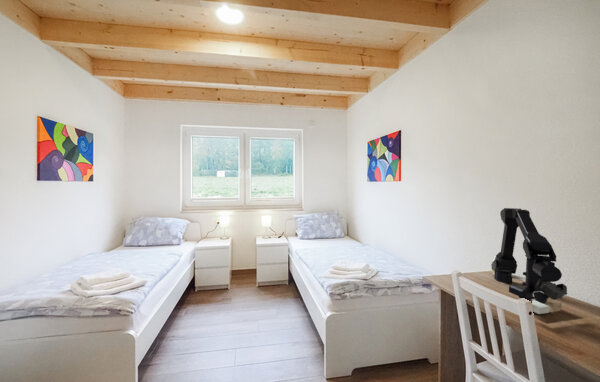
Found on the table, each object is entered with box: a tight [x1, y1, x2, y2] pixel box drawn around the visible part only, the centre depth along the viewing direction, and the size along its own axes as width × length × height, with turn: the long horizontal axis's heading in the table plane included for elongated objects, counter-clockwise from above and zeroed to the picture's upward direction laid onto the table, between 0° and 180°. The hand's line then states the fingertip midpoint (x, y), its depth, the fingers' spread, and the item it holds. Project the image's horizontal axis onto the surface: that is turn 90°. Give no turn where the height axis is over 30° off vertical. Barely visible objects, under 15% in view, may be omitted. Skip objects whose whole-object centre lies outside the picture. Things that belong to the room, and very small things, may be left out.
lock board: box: [533, 294, 562, 313], centre depth 107 cm, size 17×13×4 cm
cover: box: [532, 299, 550, 315], centre depth 98 cm, size 7×5×2 cm
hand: (533, 310), depth 98 cm, fingers closed on cover, 5 cm apart
